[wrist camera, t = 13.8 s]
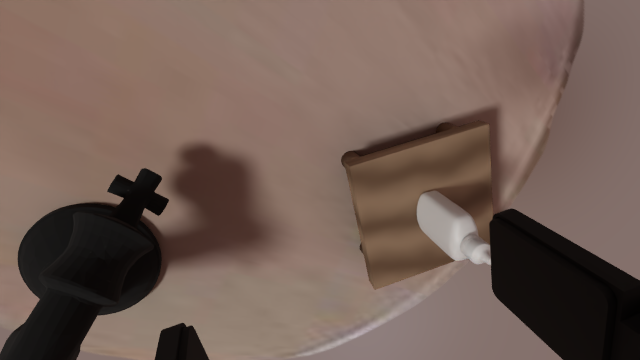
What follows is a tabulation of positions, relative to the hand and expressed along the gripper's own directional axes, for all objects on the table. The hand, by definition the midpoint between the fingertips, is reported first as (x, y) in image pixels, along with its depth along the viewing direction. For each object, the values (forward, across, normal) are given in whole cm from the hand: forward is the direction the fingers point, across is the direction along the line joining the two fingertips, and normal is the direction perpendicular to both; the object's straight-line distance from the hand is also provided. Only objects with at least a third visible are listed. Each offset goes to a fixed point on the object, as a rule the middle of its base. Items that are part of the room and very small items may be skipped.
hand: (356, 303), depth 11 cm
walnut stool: (+36, -17, +17) cm, 44 cm away
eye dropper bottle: (+30, -17, +17) cm, 38 cm away
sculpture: (+37, +21, +10) cm, 43 cm away
